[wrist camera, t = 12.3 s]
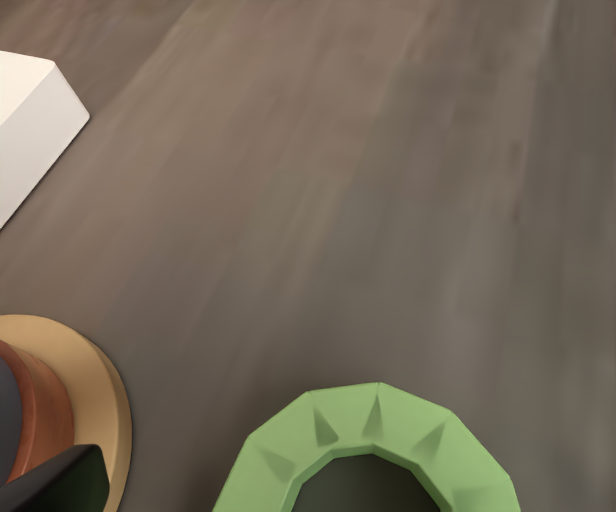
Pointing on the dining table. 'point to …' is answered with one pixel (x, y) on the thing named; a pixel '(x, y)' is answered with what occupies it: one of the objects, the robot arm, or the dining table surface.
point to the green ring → (365, 450)
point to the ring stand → (59, 400)
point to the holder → (32, 124)
